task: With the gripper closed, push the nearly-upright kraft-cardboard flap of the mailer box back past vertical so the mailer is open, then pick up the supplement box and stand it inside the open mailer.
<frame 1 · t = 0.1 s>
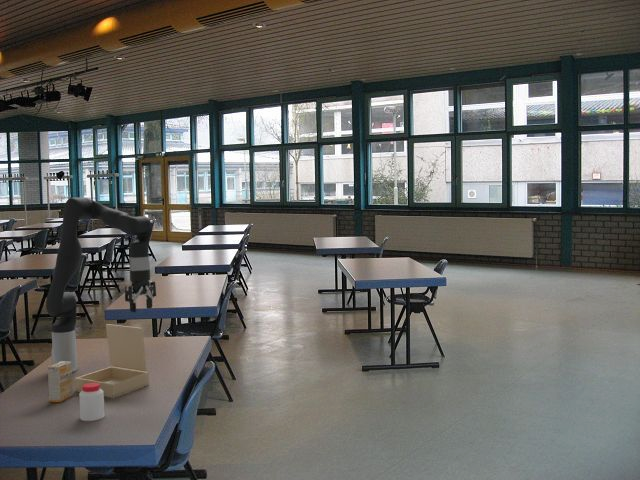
hand: (141, 310, 259), 29 cm above the table, fingers open, 8 cm apart
pill bottle: (92, 417, 224), on the table
flap: (126, 347, 263), point 14 cm above the table, hinge at 85.0°
mailer: (112, 388, 257), on the table
supplement box: (61, 399, 245), on the table
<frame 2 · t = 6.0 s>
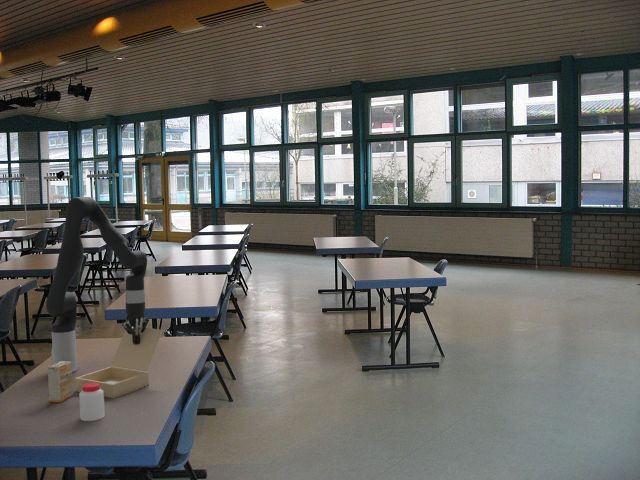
hand: (136, 344, 267), 14 cm above the table, fingers closed
flap: (136, 347, 268), point 13 cm above the table, hinge at 123.6°, touching gripper
everything else where it was.
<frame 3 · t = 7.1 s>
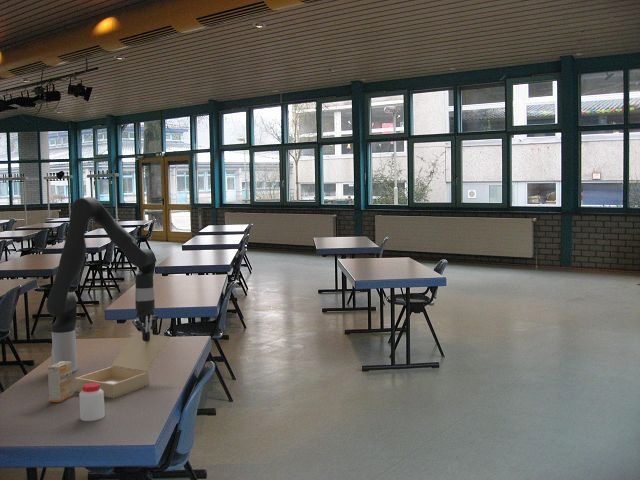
hand: (146, 340, 272), 14 cm above the table, fingers closed
flap: (140, 351, 270), point 11 cm above the table, hinge at 141.8°
everything else where it was.
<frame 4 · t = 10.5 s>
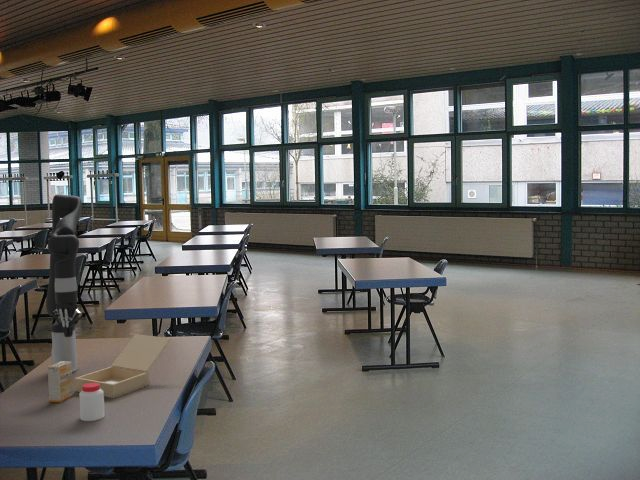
hand: (68, 336, 245), 22 cm above the table, fingers closed
flap: (141, 352, 270), point 10 cm above the table, hinge at 145.0°
everything else where it was.
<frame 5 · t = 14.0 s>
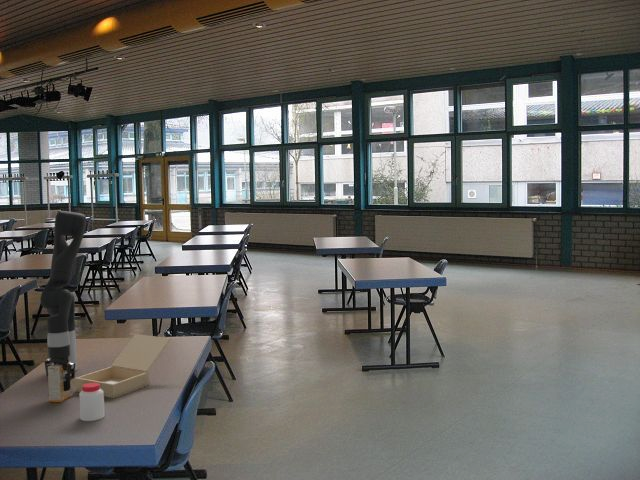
hand: (61, 389, 244), 4 cm above the table, fingers closed on supplement box, 5 cm apart
supplement box: (61, 399, 245), on the table, touching gripper
everything else where it was.
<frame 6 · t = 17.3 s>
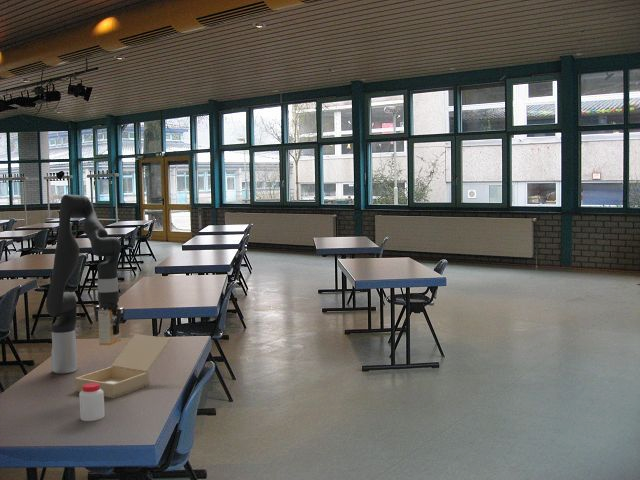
hand: (110, 333, 255), 21 cm above the table, fingers closed on supplement box, 5 cm apart
supplement box: (110, 343, 256), point 17 cm above the table, touching gripper
everything else where it was.
when the fingers open (6 cm above the table, at t = 20.6 s): supplement box drops 1 cm, resting on mailer.
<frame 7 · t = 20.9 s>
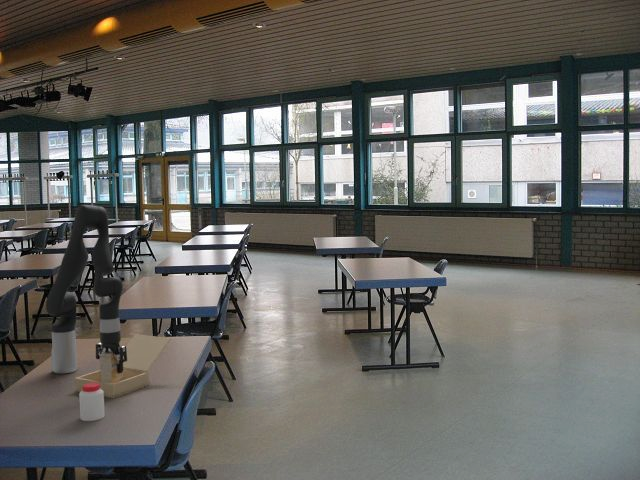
hand: (111, 371, 256), 6 cm above the table, fingers open, 8 cm apart
supplement box: (112, 386, 257), point 1 cm above the table, touching mailer
everything else where it was.
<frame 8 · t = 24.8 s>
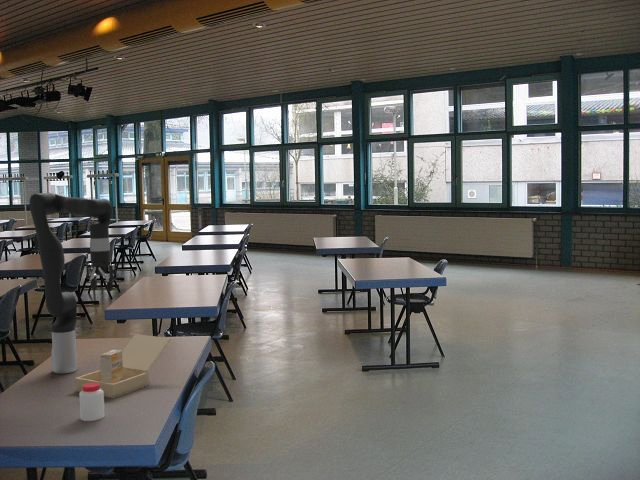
hand: (102, 290, 266), 36 cm above the table, fingers open, 8 cm apart
nothing on the table moved.
at the end: flap at +145° (first picture: +85°); supplement box inside the target area on the mailer (0.1 cm from its centre), point 0.7 cm above the mailer's base; supplement box tilted 0° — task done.
